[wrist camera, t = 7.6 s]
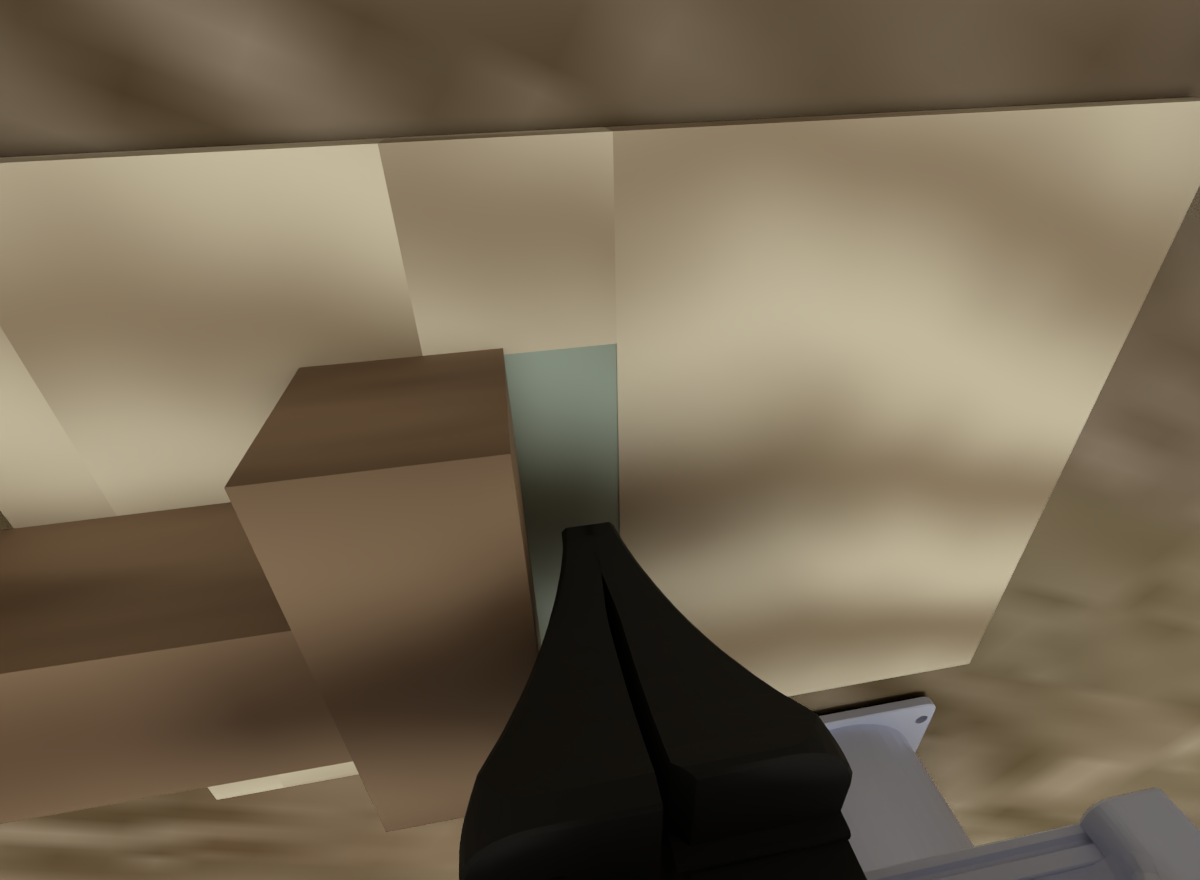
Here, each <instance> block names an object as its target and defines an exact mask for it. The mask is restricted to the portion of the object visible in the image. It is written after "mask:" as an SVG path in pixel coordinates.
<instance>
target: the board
mask: <svg viewBox="0 0 1200 880" xmlns="http://www.w3.org/2000/svg"><path fill="white" fill-rule="evenodd" d="M1199 186H1200V97H1186V98H1166V99H1146V100H1127V101H1107V102H1087V103H1067V104H1048V105H1028V106H1008V107H988V108H968V109H949V110H929V111H909V112H889V113H870V114H850V115H830V116H810V117H791V118H771V119H751V120H731V121H711V122H692V123H672V124H652V125H632V126H613V127H593V128H573V129H553V130H534V131H514V132H494V133H474V134H454V135H435V136H415V137H395V138H375V139H356V140H336V141H316V142H296V143H277V144H257V145H237V146H217V147H197V148H178V149H158V150H138V151H118V152H99V153H79V154H59V155H39V156H20V157H0V511H1V512H2V514H3V515H4V516H5V518H6V519H7V520H8V522H9V523H10V524H11V526H12V527H13V528H22V527H31V526H39V525H47V524H55V523H64V522H72V521H80V520H88V519H97V518H105V517H113V516H121V515H130V514H138V513H146V512H154V511H163V510H171V509H179V508H187V507H196V506H204V505H212V504H220V503H228V502H231V501H230V499H229V497H228V495H227V493H226V491H225V489H224V487H225V485H226V484H227V482H228V481H229V479H230V477H231V476H232V474H233V473H234V471H235V469H236V468H237V466H238V465H239V463H240V461H241V460H242V458H243V457H244V455H245V453H246V452H247V450H248V449H249V447H250V445H251V444H252V442H253V441H254V439H255V437H256V436H257V434H258V433H259V431H260V429H261V428H262V426H263V425H264V423H265V421H266V420H267V418H268V417H269V415H270V413H271V412H272V410H273V409H274V407H275V405H276V404H277V402H278V401H279V399H280V397H281V396H282V394H283V393H284V391H285V389H286V388H287V386H288V385H289V383H290V381H291V380H292V378H293V377H294V375H295V373H296V372H297V370H298V369H299V368H301V367H311V366H321V365H332V364H342V363H353V362H363V361H374V360H384V359H395V358H405V357H416V356H426V355H436V354H447V353H457V352H468V351H478V350H489V349H499V348H503V352H504V360H505V367H506V375H507V383H508V391H509V398H510V406H511V414H512V421H513V429H514V437H515V444H516V452H517V460H518V468H519V475H520V483H521V491H522V498H523V506H524V514H525V521H526V529H527V537H528V545H529V552H530V560H531V568H532V575H533V583H534V591H535V598H536V606H537V614H538V622H539V629H540V637H541V645H542V642H543V639H544V636H545V633H546V630H547V627H548V623H549V620H550V616H551V612H552V608H553V605H554V601H555V597H556V592H557V587H558V582H559V576H560V571H561V563H562V553H563V543H562V531H563V530H564V529H565V528H568V527H575V526H583V525H590V524H598V523H605V522H610V523H611V524H613V525H614V527H615V529H616V531H617V532H618V534H619V536H620V537H621V539H622V540H623V542H624V543H625V545H626V546H627V548H628V549H629V551H630V552H631V554H632V555H633V556H634V558H635V559H636V561H637V562H638V563H639V565H640V566H641V567H642V568H643V570H644V571H645V572H646V573H647V575H648V576H649V577H650V578H651V580H652V581H653V582H654V583H655V585H656V586H657V587H658V588H659V589H660V590H661V592H662V593H663V594H664V595H665V596H666V597H667V598H668V599H669V600H670V602H671V603H672V604H673V605H674V606H675V607H676V608H677V609H678V610H679V611H680V612H681V613H682V614H683V615H684V616H685V617H686V618H687V619H688V620H689V621H690V622H691V623H692V624H693V625H694V626H695V627H696V628H697V629H698V630H700V631H701V632H702V633H703V634H704V635H705V636H706V637H707V638H708V639H710V640H711V641H712V642H713V643H714V644H715V645H717V646H718V647H719V648H720V649H721V650H722V651H724V652H725V653H726V654H728V655H729V656H730V657H732V658H733V659H734V660H736V661H737V662H738V663H739V664H741V665H742V666H743V667H745V668H746V669H747V670H749V671H750V672H751V673H753V674H754V675H755V676H757V677H758V678H760V679H761V680H763V681H764V682H766V683H767V684H769V685H770V686H772V687H773V688H774V689H776V690H777V691H779V692H781V693H782V694H784V695H786V696H787V697H788V696H793V695H799V694H804V693H810V692H815V691H821V690H827V689H832V688H838V687H843V686H849V685H854V684H860V683H865V682H871V681H876V680H882V679H887V678H893V677H898V676H904V675H909V674H915V673H921V672H926V671H932V670H937V669H943V668H948V667H954V666H959V665H965V664H969V663H970V661H971V659H972V657H973V655H974V653H975V651H976V649H977V647H978V644H979V642H980V640H981V638H982V636H983V634H984V632H985V630H986V628H987V626H988V624H989V622H990V620H991V617H992V615H993V613H994V611H995V609H996V607H997V605H998V603H999V601H1000V599H1001V597H1002V595H1003V593H1004V591H1005V588H1006V586H1007V584H1008V582H1009V580H1010V578H1011V576H1012V574H1013V572H1014V570H1015V568H1016V566H1017V564H1018V561H1019V559H1020V557H1021V555H1022V553H1023V551H1024V549H1025V547H1026V545H1027V543H1028V541H1029V539H1030V537H1031V534H1032V532H1033V530H1034V528H1035V526H1036V524H1037V522H1038V520H1039V518H1040V516H1041V514H1042V512H1043V510H1044V507H1045V505H1046V503H1047V501H1048V499H1049V497H1050V495H1051V493H1052V491H1053V489H1054V487H1055V485H1056V483H1057V480H1058V478H1059V476H1060V474H1061V472H1062V470H1063V468H1064V466H1065V464H1066V462H1067V460H1068V458H1069V456H1070V454H1071V451H1072V449H1073V447H1074V445H1075V443H1076V441H1077V439H1078V437H1079V435H1080V433H1081V431H1082V429H1083V427H1084V424H1085V422H1086V420H1087V418H1088V416H1089V414H1090V412H1091V410H1092V408H1093V406H1094V404H1095V402H1096V400H1097V397H1098V395H1099V393H1100V391H1101V389H1102V387H1103V385H1104V383H1105V381H1106V379H1107V377H1108V375H1109V373H1110V370H1111V368H1112V366H1113V364H1114V362H1115V360H1116V358H1117V356H1118V354H1119V352H1120V350H1121V348H1122V346H1123V343H1124V341H1125V339H1126V337H1127V335H1128V333H1129V331H1130V329H1131V327H1132V325H1133V323H1134V321H1135V319H1136V317H1137V314H1138V312H1139V310H1140V308H1141V306H1142V304H1143V302H1144V300H1145V298H1146V296H1147V294H1148V292H1149V290H1150V287H1151V285H1152V283H1153V281H1154V279H1155V277H1156V275H1157V273H1158V271H1159V269H1160V267H1161V265H1162V263H1163V260H1164V258H1165V256H1166V254H1167V252H1168V250H1169V248H1170V246H1171V244H1172V242H1173V240H1174V238H1175V236H1176V233H1177V231H1178V229H1179V227H1180V225H1181V223H1182V221H1183V219H1184V217H1185V215H1186V213H1187V211H1188V209H1189V206H1190V204H1191V202H1192V200H1193V198H1194V196H1195V194H1196V192H1197V190H1198V188H1199ZM356 774H359V773H358V771H357V769H356V767H355V765H354V762H353V761H352V762H347V763H341V764H335V765H330V766H324V767H318V768H313V769H307V770H301V771H296V772H290V773H285V774H279V775H273V776H268V777H262V778H256V779H251V780H245V781H239V782H234V783H228V784H223V785H217V786H211V787H208V789H209V790H210V791H211V793H212V794H213V795H214V797H215V798H216V799H217V800H218V799H224V798H229V797H235V796H240V795H246V794H251V793H257V792H262V791H268V790H273V789H279V788H285V787H290V786H296V785H301V784H307V783H312V782H318V781H323V780H329V779H334V778H340V777H345V776H351V775H356Z"/></svg>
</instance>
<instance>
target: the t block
mask: <svg viewBox="0 0 1200 880" xmlns="http://www.w3.org/2000/svg"><path fill="white" fill-rule="evenodd" d="M224 489H225V491H226V493H227V495H228V497H229V499H230V501H231V502H228V503H220V504H212V505H204V506H196V507H187V508H179V509H171V510H163V511H154V512H146V513H138V514H130V515H121V516H113V517H105V518H97V519H88V520H80V521H72V522H64V523H55V524H47V525H39V526H31V527H22V528H14V529H6V530H0V824H3V823H8V822H14V821H20V820H25V819H31V818H37V817H42V816H48V815H53V814H59V813H65V812H70V811H76V810H82V809H87V808H93V807H99V806H104V805H110V804H115V803H121V802H127V801H132V800H138V799H144V798H149V797H155V796H161V795H166V794H172V793H177V792H183V791H189V790H194V789H200V788H206V787H211V786H217V785H223V784H228V783H234V782H239V781H245V780H251V779H256V778H262V777H268V776H273V775H279V774H285V773H290V772H296V771H301V770H307V769H313V768H318V767H324V766H330V765H335V764H341V763H347V762H352V761H353V762H354V765H355V767H356V769H357V771H358V773H359V775H360V777H361V779H362V782H363V784H364V786H365V788H366V790H367V792H368V794H369V796H370V799H371V801H372V803H373V805H374V807H375V809H376V811H377V813H378V815H379V818H380V820H381V822H382V824H383V826H384V828H385V830H386V832H390V831H395V830H400V829H406V828H411V827H416V826H421V825H426V824H431V823H437V822H442V821H447V820H452V819H457V818H462V817H465V814H466V810H467V807H468V803H469V799H470V796H471V793H472V790H473V786H474V783H475V780H476V776H477V774H478V772H479V771H480V769H481V767H482V766H483V764H484V762H485V761H486V759H487V757H488V756H489V754H490V752H491V751H492V749H493V747H494V746H495V744H496V742H497V741H498V739H499V737H500V735H501V734H502V732H503V730H504V728H505V726H506V724H507V722H508V720H509V718H510V716H511V714H512V712H513V710H514V708H515V706H516V704H517V702H518V700H519V698H520V696H521V694H522V692H523V690H524V688H525V685H526V683H527V681H528V678H529V676H530V673H531V671H532V669H533V666H534V664H535V661H536V659H537V656H538V653H539V651H540V648H541V637H540V629H539V622H538V614H537V606H536V598H535V591H534V583H533V575H532V568H531V560H530V552H529V545H528V537H527V529H526V521H525V514H524V506H523V498H522V491H521V483H520V475H519V468H518V460H517V452H516V444H515V437H514V429H513V421H512V414H511V406H510V398H509V391H508V383H507V375H506V367H505V360H504V352H503V348H499V349H489V350H478V351H468V352H457V353H447V354H436V355H426V356H416V357H405V358H395V359H384V360H374V361H363V362H353V363H342V364H332V365H321V366H311V367H301V368H299V369H298V370H297V372H296V373H295V375H294V377H293V378H292V380H291V381H290V383H289V385H288V386H287V388H286V389H285V391H284V393H283V394H282V396H281V397H280V399H279V401H278V402H277V404H276V405H275V407H274V409H273V410H272V412H271V413H270V415H269V417H268V418H267V420H266V421H265V423H264V425H263V426H262V428H261V429H260V431H259V433H258V434H257V436H256V437H255V439H254V441H253V442H252V444H251V445H250V447H249V449H248V450H247V452H246V453H245V455H244V457H243V458H242V460H241V461H240V463H239V465H238V466H237V468H236V469H235V471H234V473H233V474H232V476H231V477H230V479H229V481H228V482H227V484H226V485H225V487H224Z"/></svg>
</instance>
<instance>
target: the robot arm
mask: <svg viewBox="0 0 1200 880" xmlns="http://www.w3.org/2000/svg"><path fill="white" fill-rule="evenodd" d="M562 543H563V553H562V563H561V571H560V576H559V582H558V587H557V592H556V597H555V601H554V605H553V608H552V612H551V616H550V620H549V623H548V627H547V630H546V633H545V636H544V639H543V642H542V645H541V648H540V651H539V653H538V656H537V659H536V661H535V664H534V666H533V669H532V671H531V673H530V676H529V678H528V681H527V683H526V685H525V688H524V690H523V692H522V694H521V696H520V698H519V700H518V702H517V704H516V706H515V708H514V710H513V712H512V714H511V716H510V718H509V720H508V722H507V724H506V726H505V728H504V730H503V732H502V734H501V735H500V737H499V739H498V741H497V742H496V744H495V746H494V747H493V749H492V751H491V752H490V754H489V756H488V757H487V759H486V761H485V762H484V764H483V766H482V767H481V769H480V771H479V772H478V774H477V776H476V780H475V783H474V786H473V790H472V793H471V796H470V799H469V803H468V807H467V810H466V814H465V818H464V823H463V828H462V833H461V841H460V851H459V880H1200V830H1199V829H1198V828H1197V827H1196V826H1195V825H1194V824H1193V823H1192V822H1191V821H1190V820H1189V819H1188V818H1187V817H1186V815H1185V814H1184V813H1183V812H1182V811H1181V810H1180V809H1179V808H1178V807H1177V806H1176V805H1175V804H1174V803H1173V802H1172V801H1171V800H1170V799H1169V798H1168V796H1167V795H1166V794H1165V793H1164V792H1163V791H1162V790H1161V789H1157V788H1150V789H1145V790H1140V791H1136V792H1131V793H1127V794H1122V795H1118V796H1113V797H1109V798H1106V799H1103V800H1101V801H1099V802H1097V803H1095V804H1093V805H1092V806H1091V807H1090V808H1089V809H1087V811H1086V812H1085V813H1084V814H1083V816H1082V818H1081V820H1080V823H1078V824H1073V825H1069V826H1065V827H1060V828H1056V829H1051V830H1047V831H1042V832H1038V833H1033V834H1029V835H1024V836H1020V837H1015V838H1011V839H1006V840H1002V841H997V842H993V843H988V844H984V845H979V846H975V847H974V845H973V844H972V842H971V841H970V839H969V837H968V836H967V834H966V833H965V831H964V830H963V828H962V826H961V825H960V823H959V822H958V820H957V819H956V817H955V815H954V814H953V812H952V811H951V809H950V808H949V806H948V804H947V803H946V801H945V800H944V798H943V797H942V795H941V793H940V792H939V790H938V789H937V787H936V786H935V784H934V782H933V781H932V779H931V778H930V776H929V775H928V773H927V771H926V770H925V768H924V767H923V765H922V763H921V762H920V760H919V759H918V757H917V756H916V754H915V752H916V750H917V748H918V746H919V744H920V741H921V739H922V737H923V735H924V733H925V731H926V728H927V726H928V724H929V722H930V720H931V718H932V716H933V713H934V711H935V707H936V706H935V705H934V704H933V702H932V701H931V699H930V698H928V697H918V698H913V699H907V700H902V701H897V702H891V703H886V704H881V705H875V706H870V707H865V708H859V709H854V710H849V711H843V712H838V713H832V714H827V715H822V716H818V714H816V713H815V712H813V711H811V710H809V709H808V708H806V707H804V706H803V705H801V704H799V703H797V702H796V701H794V700H792V699H791V698H789V697H787V696H786V695H784V694H782V693H781V692H779V691H777V690H776V689H774V688H773V687H772V686H770V685H769V684H767V683H766V682H764V681H763V680H761V679H760V678H758V677H757V676H755V675H754V674H753V673H751V672H750V671H749V670H747V669H746V668H745V667H743V666H742V665H741V664H739V663H738V662H737V661H736V660H734V659H733V658H732V657H730V656H729V655H728V654H726V653H725V652H724V651H722V650H721V649H720V648H719V647H718V646H717V645H715V644H714V643H713V642H712V641H711V640H710V639H708V638H707V637H706V636H705V635H704V634H703V633H702V632H701V631H700V630H698V629H697V628H696V627H695V626H694V625H693V624H692V623H691V622H690V621H689V620H688V619H687V618H686V617H685V616H684V615H683V614H682V613H681V612H680V611H679V610H678V609H677V608H676V607H675V606H674V605H673V604H672V603H671V602H670V600H669V599H668V598H667V597H666V596H665V595H664V594H663V593H662V592H661V590H660V589H659V588H658V587H657V586H656V585H655V583H654V582H653V581H652V580H651V578H650V577H649V576H648V575H647V573H646V572H645V571H644V570H643V568H642V567H641V566H640V565H639V563H638V562H637V561H636V559H635V558H634V556H633V555H632V554H631V552H630V551H629V549H628V548H627V546H626V545H625V543H624V542H623V540H622V539H621V537H620V536H619V534H618V532H617V531H616V529H615V527H614V525H613V524H611V523H610V522H605V523H598V524H590V525H583V526H575V527H568V528H565V529H564V530H563V531H562Z"/></svg>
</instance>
